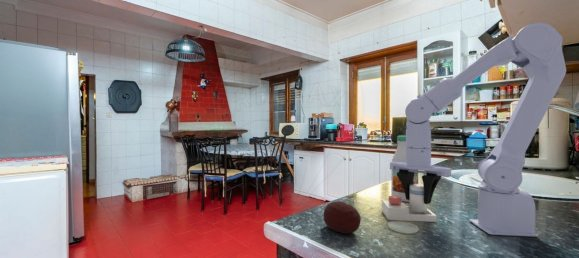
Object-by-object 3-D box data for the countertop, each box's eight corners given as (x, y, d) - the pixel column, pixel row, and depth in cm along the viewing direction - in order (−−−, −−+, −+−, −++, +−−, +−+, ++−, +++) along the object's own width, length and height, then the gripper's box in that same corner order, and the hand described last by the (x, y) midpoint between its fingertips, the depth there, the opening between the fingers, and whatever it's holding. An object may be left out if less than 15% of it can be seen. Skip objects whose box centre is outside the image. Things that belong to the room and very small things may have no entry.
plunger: (399, 210, 68) (399, 195, 68) (402, 214, 65) (402, 199, 65) (387, 209, 68) (387, 195, 68) (390, 213, 65) (390, 198, 65)
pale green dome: (412, 223, 62) (412, 221, 62) (423, 234, 55) (423, 232, 55) (384, 222, 62) (384, 220, 62) (392, 233, 56) (392, 231, 56)
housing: (425, 212, 69) (425, 201, 69) (436, 221, 63) (436, 209, 62) (382, 211, 70) (382, 200, 70) (388, 219, 64) (388, 207, 64)
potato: (341, 220, 64) (341, 195, 64) (370, 236, 54) (370, 207, 54) (315, 225, 61) (315, 199, 61) (341, 243, 51) (341, 212, 51)
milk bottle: (386, 196, 84) (386, 135, 84) (405, 195, 86) (406, 135, 86) (403, 203, 77) (403, 136, 76) (424, 201, 79) (424, 136, 79)
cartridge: (414, 205, 69) (414, 183, 69) (430, 209, 66) (430, 186, 65) (406, 208, 66) (406, 185, 66) (422, 212, 63) (422, 188, 63)
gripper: (383, 146, 69) (383, 197, 69) (442, 150, 58) (442, 211, 58) (397, 145, 73) (397, 193, 74) (454, 149, 62) (454, 205, 62)
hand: (418, 201), depth 66 cm, fingers closed on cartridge, 4 cm apart
